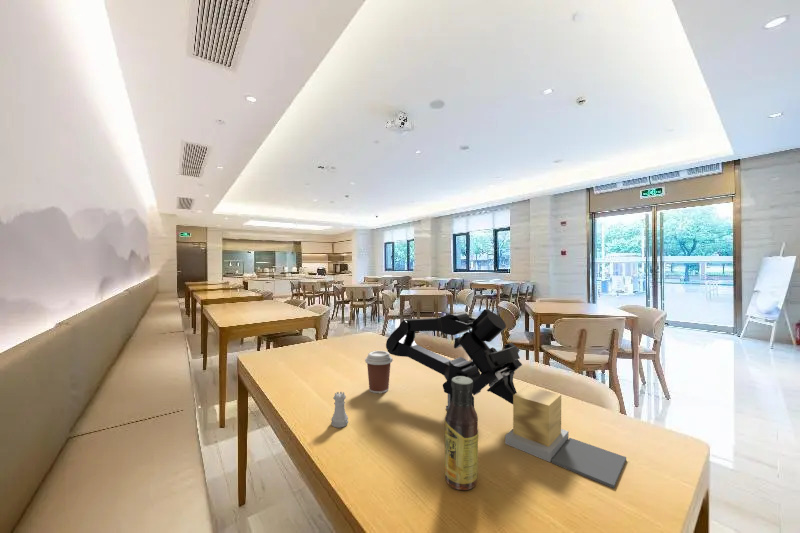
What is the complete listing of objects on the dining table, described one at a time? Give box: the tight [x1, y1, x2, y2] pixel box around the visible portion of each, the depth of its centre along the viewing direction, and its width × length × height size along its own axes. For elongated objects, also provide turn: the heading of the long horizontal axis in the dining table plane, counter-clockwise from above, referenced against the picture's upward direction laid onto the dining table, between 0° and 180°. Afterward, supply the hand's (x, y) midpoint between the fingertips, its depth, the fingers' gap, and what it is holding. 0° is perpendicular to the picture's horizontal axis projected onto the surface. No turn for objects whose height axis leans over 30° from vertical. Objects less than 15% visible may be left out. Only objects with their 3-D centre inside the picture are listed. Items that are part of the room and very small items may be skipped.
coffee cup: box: [364, 350, 394, 394], centre depth 107 cm, size 9×9×12 cm
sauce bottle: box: [444, 376, 479, 491], centre depth 61 cm, size 6×6×20 cm
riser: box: [504, 428, 570, 463], centre depth 75 cm, size 10×12×2 cm
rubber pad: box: [551, 437, 627, 489], centre depth 67 cm, size 11×12×1 cm
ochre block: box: [512, 385, 562, 447], centre depth 75 cm, size 8×8×9 cm
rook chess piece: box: [330, 391, 349, 429], centre depth 84 cm, size 4×4×8 cm
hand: (519, 405), depth 78 cm, fingers closed, pressing on ochre block
